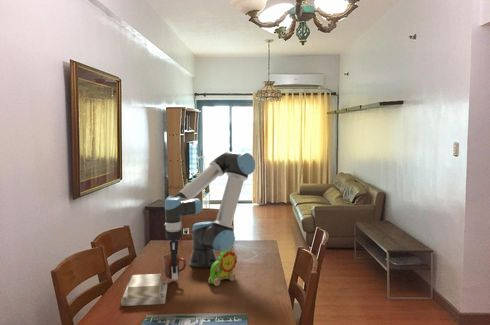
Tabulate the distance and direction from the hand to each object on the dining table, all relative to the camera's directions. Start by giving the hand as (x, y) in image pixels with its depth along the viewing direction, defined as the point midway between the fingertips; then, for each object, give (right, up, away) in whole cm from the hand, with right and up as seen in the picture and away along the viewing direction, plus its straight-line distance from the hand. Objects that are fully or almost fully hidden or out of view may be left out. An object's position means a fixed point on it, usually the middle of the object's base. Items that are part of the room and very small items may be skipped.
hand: (175, 276), depth 204 cm
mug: (0, -1, -1) cm, 1 cm away
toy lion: (+24, -3, +1) cm, 24 cm away
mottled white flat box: (-10, -4, -17) cm, 21 cm away
